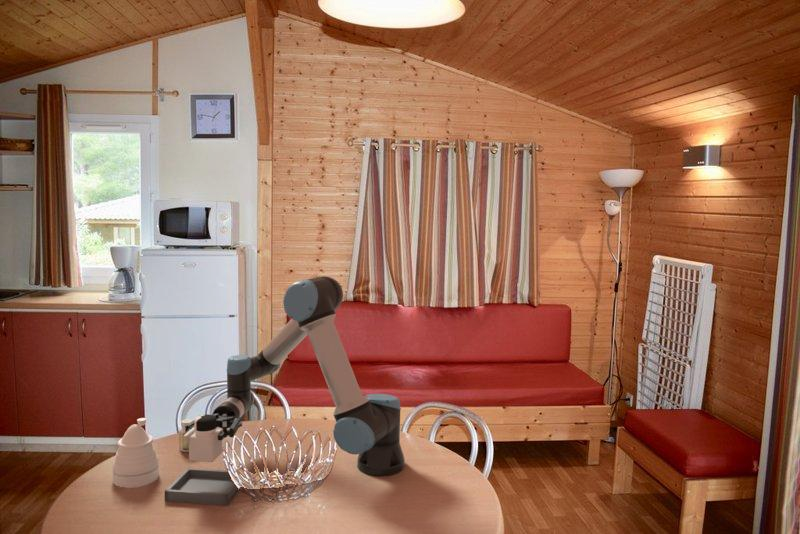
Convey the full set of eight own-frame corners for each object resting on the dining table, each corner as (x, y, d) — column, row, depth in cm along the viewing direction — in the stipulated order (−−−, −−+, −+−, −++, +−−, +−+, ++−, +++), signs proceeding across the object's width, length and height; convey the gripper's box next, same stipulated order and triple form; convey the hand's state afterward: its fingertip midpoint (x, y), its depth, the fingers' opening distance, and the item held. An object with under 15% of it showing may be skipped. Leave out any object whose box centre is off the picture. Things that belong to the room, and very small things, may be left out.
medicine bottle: (222, 452, 184) (222, 413, 183) (212, 462, 177) (212, 421, 176) (199, 451, 185) (198, 411, 183) (188, 461, 178) (188, 420, 176)
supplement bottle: (199, 448, 212) (199, 420, 211) (186, 453, 208) (186, 425, 206) (189, 444, 215) (188, 417, 214) (175, 449, 210) (175, 421, 209)
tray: (245, 481, 188) (245, 471, 188) (227, 505, 174) (227, 495, 173) (187, 477, 190) (187, 467, 190) (164, 501, 175) (164, 490, 175)
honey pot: (154, 465, 198) (152, 410, 196) (163, 481, 187) (161, 423, 185) (109, 474, 191) (107, 417, 189) (116, 491, 180) (114, 431, 178)
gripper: (259, 426, 197) (233, 456, 175) (197, 422, 199) (164, 452, 176) (259, 403, 197) (233, 430, 174) (197, 400, 198) (163, 426, 176)
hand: (198, 441), depth 175 cm, fingers closed on medicine bottle, 7 cm apart
